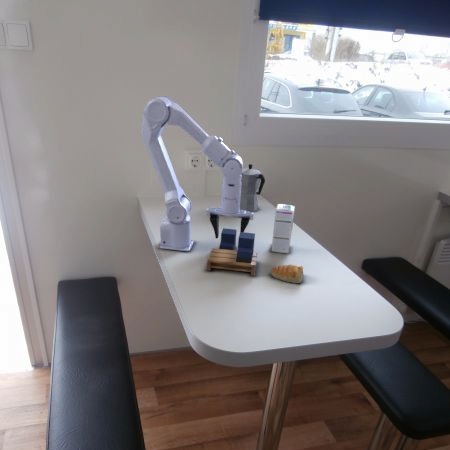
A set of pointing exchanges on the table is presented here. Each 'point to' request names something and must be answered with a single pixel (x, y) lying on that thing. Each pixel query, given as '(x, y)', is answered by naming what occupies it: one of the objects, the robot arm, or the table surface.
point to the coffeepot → (250, 188)
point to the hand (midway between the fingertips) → (228, 238)
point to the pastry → (288, 273)
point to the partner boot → (245, 247)
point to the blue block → (228, 239)
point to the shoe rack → (229, 261)
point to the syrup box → (283, 228)
